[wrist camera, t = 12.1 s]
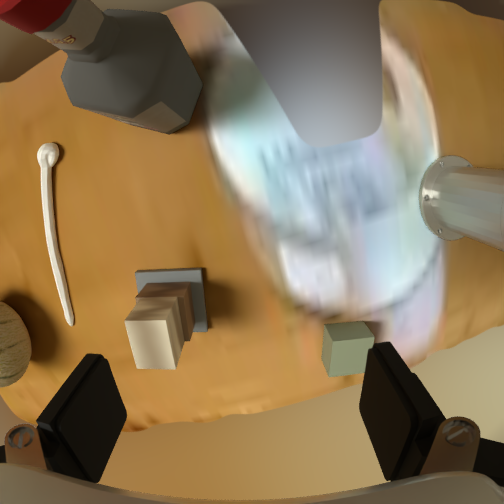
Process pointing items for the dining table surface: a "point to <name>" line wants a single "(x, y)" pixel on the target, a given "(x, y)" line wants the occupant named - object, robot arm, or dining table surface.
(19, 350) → the cantaloupe
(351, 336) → the olive block
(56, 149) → the knobbed tapering rod
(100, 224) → the dining table surface
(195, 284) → the slate board
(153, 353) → the birch block
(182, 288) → the walnut block
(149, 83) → the liquor
